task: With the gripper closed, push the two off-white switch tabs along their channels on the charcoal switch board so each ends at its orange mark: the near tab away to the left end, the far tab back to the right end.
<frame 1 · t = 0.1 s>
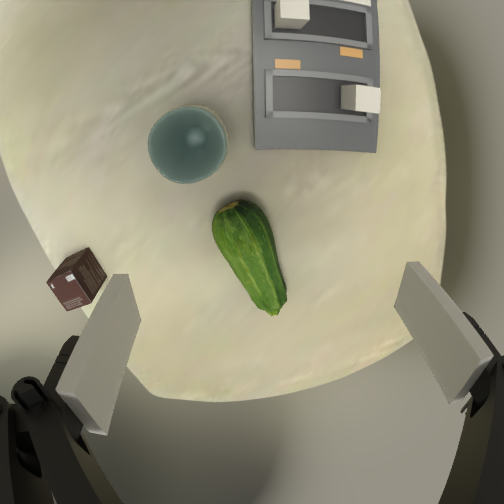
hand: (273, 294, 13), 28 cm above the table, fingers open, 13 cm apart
tab b: (359, 98, 30), point 5 cm above the table, slide at 0.0 cm
cup: (198, 134, 36), on the table
vegetable: (255, 255, 45), on the table
switch board: (316, 59, 31), on the table
tab a: (290, 12, 24), point 5 cm above the table, slide at 0.0 cm
box: (86, 266, 44), on the table
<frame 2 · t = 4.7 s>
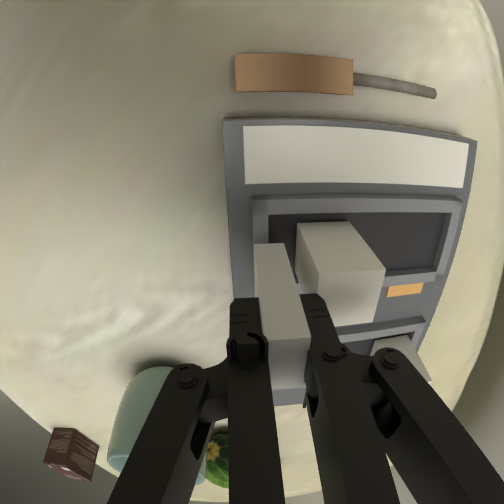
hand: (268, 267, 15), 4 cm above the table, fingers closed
tab b: (397, 372, 20), point 5 cm above the table, slide at 0.0 cm
cup: (169, 378, 26), on the table
vegetable: (246, 450, 36), on the table
switch board: (343, 288, 21), on the table
screwdriver: (289, 75, 14), on the table
tab a: (333, 269, 15), point 5 cm above the table, slide at 1.2 cm, touching gripper
box: (76, 435, 35), on the table
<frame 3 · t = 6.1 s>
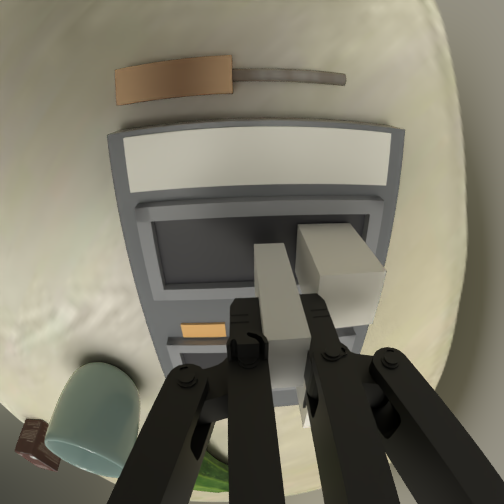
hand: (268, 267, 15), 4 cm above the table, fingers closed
tab b: (320, 387, 20), point 5 cm above the table, slide at 0.0 cm
cup: (110, 374, 26), on the table
vegetable: (200, 451, 36), on the table
switch board: (260, 295, 21), on the table
screwdriver: (178, 80, 14), on the table
tab a: (334, 271, 15), point 5 cm above the table, slide at 7.4 cm, touching gripper
box: (46, 427, 34), on the table
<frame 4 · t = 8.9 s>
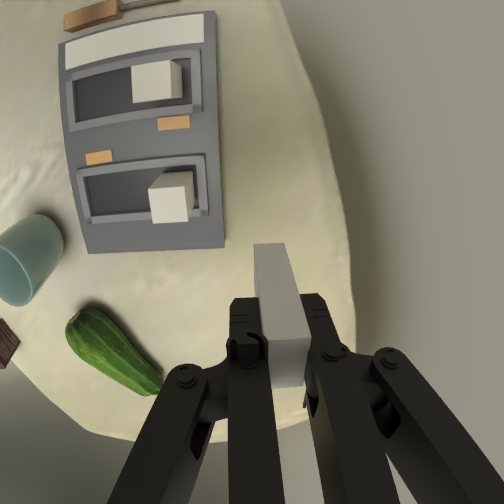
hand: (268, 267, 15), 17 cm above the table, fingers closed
tab b: (173, 195, 25), point 5 cm above the table, slide at 0.0 cm
cup: (47, 233, 32), on the table
vegetable: (126, 345, 42), on the table
switch board: (140, 136, 27), on the table
screwdriver: (96, 17, 20), on the table
tab a: (158, 82, 20), point 5 cm above the table, slide at 7.5 cm
box: (5, 331, 40), on the table
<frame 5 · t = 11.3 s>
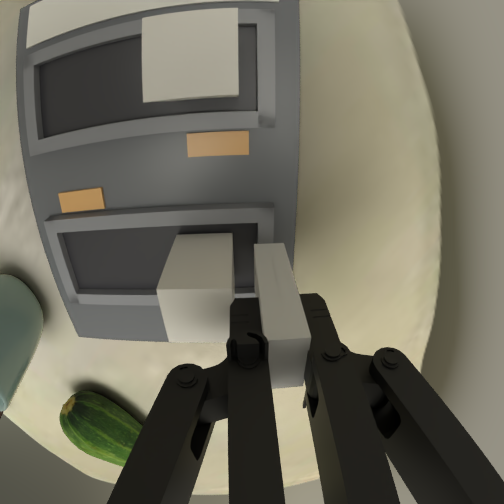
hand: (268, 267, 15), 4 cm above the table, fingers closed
tab b: (202, 284, 14), point 5 cm above the table, slide at -0.9 cm, touching gripper
cup: (21, 296, 21), on the table
vegetable: (137, 423, 31), on the table
switch board: (152, 163, 16), on the table
tab a: (198, 62, 10), point 5 cm above the table, slide at 7.5 cm
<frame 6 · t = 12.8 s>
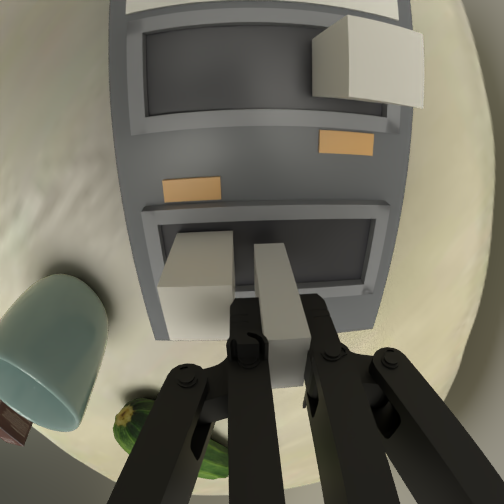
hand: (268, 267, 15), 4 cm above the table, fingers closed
tab b: (203, 281, 14), point 5 cm above the table, slide at -7.5 cm, touching gripper
cup: (77, 298, 21), on the table
vegetable: (189, 427, 31), on the table
switch board: (265, 155, 16), on the table
tab a: (361, 66, 10), point 5 cm above the table, slide at 7.5 cm
box: (16, 395, 29), on the table
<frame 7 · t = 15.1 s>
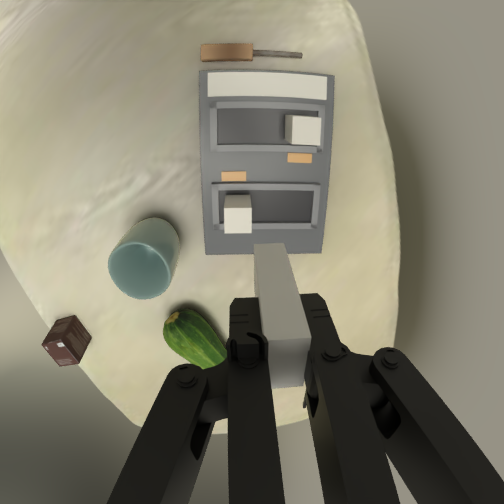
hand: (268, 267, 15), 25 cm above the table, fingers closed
tab b: (237, 213, 35), point 5 cm above the table, slide at -7.5 cm
cup: (158, 235, 42), on the table
vegetable: (209, 341, 51), on the table
switch board: (265, 163, 37), on the table
screwdriver: (227, 54, 31), on the table
tab a: (301, 129, 31), point 5 cm above the table, slide at 7.5 cm
box: (74, 327, 49), on the table
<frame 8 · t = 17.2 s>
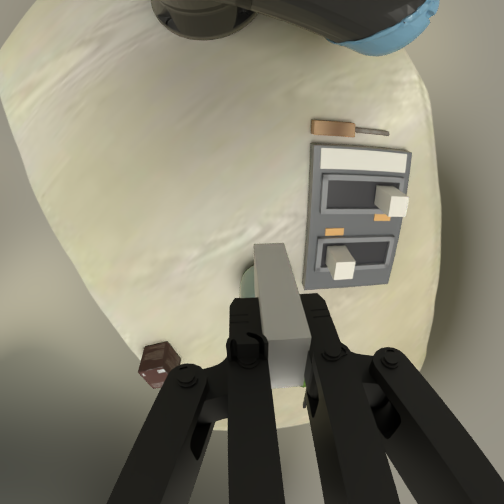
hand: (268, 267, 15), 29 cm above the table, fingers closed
tab b: (339, 262, 45), point 5 cm above the table, slide at -7.5 cm
cup: (262, 274, 51), on the table
switch board: (354, 218, 47), on the table
screwdriver: (330, 127, 40), on the table
tab a: (391, 200, 40), point 5 cm above the table, slide at 7.5 cm
box: (163, 351, 60), on the table
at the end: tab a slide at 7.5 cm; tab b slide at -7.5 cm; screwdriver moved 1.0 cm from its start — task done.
